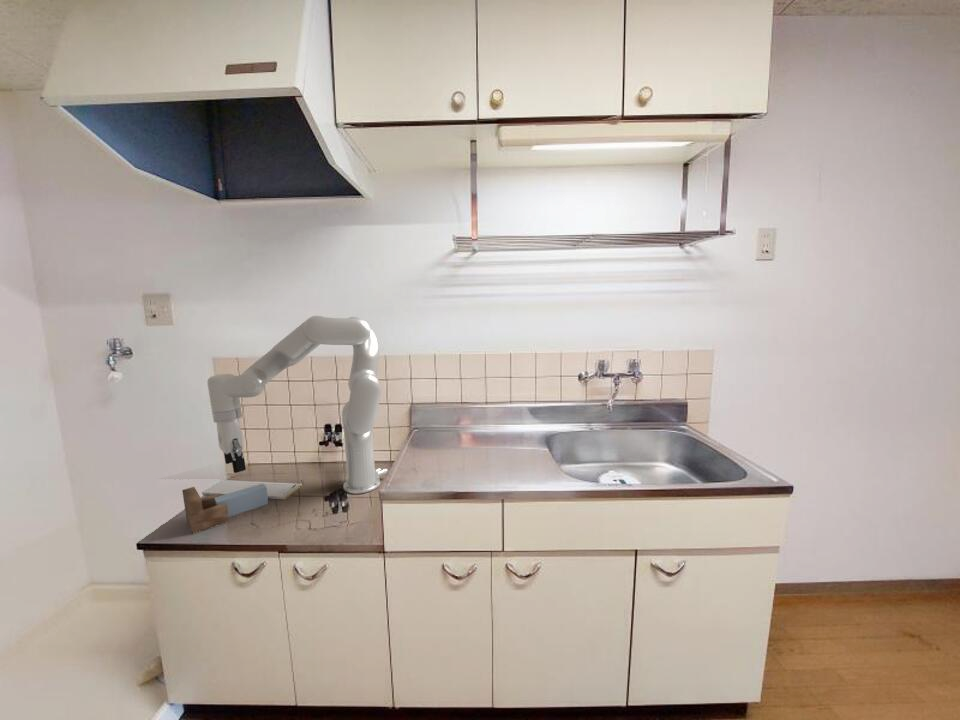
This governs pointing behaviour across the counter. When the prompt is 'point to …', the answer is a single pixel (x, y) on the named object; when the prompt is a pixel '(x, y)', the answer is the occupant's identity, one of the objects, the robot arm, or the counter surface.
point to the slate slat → (244, 499)
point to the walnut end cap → (203, 510)
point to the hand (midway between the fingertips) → (235, 466)
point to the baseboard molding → (231, 486)
